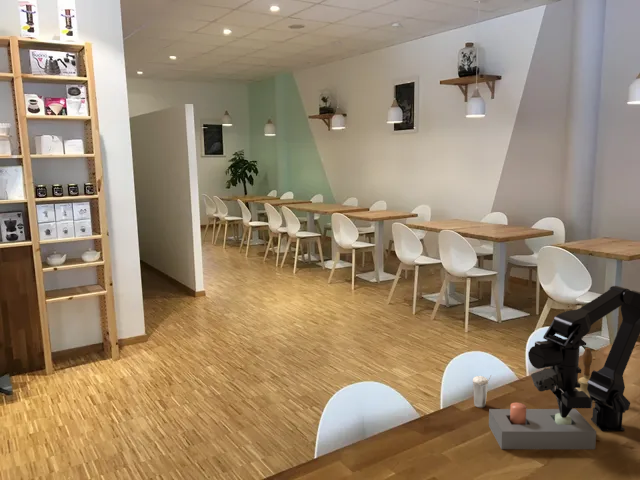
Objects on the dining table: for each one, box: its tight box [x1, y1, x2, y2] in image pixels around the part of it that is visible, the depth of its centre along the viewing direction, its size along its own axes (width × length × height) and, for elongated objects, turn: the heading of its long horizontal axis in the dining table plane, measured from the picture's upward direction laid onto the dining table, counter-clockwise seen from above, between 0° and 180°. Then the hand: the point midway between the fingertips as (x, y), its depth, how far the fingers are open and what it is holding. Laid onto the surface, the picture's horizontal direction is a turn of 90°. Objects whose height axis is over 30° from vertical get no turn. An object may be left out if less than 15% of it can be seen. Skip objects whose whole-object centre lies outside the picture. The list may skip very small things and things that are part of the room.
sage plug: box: [555, 413, 571, 425], centre depth 142 cm, size 4×4×5 cm
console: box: [488, 408, 597, 450], centre depth 143 cm, size 24×12×5 cm, turn 88°
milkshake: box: [472, 375, 492, 409], centre depth 160 cm, size 4×5×10 cm
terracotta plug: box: [509, 402, 527, 425], centre depth 142 cm, size 4×4×5 cm
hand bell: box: [576, 347, 595, 403], centre depth 164 cm, size 8×8×16 cm
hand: (563, 417), depth 142 cm, fingers closed, pressing on sage plug
